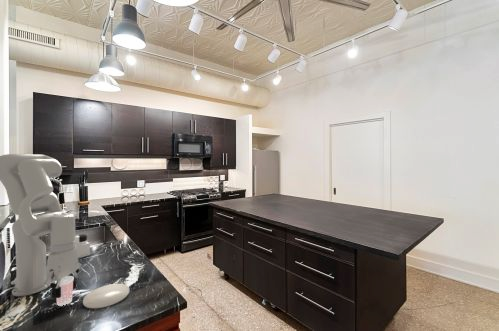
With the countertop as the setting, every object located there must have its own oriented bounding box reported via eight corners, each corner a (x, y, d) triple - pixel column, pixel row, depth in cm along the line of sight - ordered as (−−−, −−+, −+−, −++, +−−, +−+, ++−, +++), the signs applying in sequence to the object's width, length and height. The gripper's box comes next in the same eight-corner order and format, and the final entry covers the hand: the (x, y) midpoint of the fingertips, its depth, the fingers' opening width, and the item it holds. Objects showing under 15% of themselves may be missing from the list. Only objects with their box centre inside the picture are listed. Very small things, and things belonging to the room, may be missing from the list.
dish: (72, 308, 88) (72, 305, 88) (103, 285, 104) (103, 282, 104) (112, 310, 86) (112, 307, 86) (137, 287, 102) (137, 284, 102)
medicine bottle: (85, 252, 142) (85, 232, 142) (90, 255, 138) (90, 234, 138) (71, 256, 137) (71, 235, 136) (76, 259, 132) (75, 238, 132)
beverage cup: (70, 296, 96) (69, 262, 96) (77, 300, 93) (76, 265, 92) (51, 304, 91) (50, 268, 90) (58, 309, 87) (57, 272, 87)
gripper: (73, 239, 100) (74, 280, 100) (32, 255, 83) (33, 305, 83) (89, 239, 99) (90, 281, 100) (51, 256, 82) (52, 306, 83)
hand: (64, 292), depth 92 cm, fingers closed on beverage cup, 6 cm apart
